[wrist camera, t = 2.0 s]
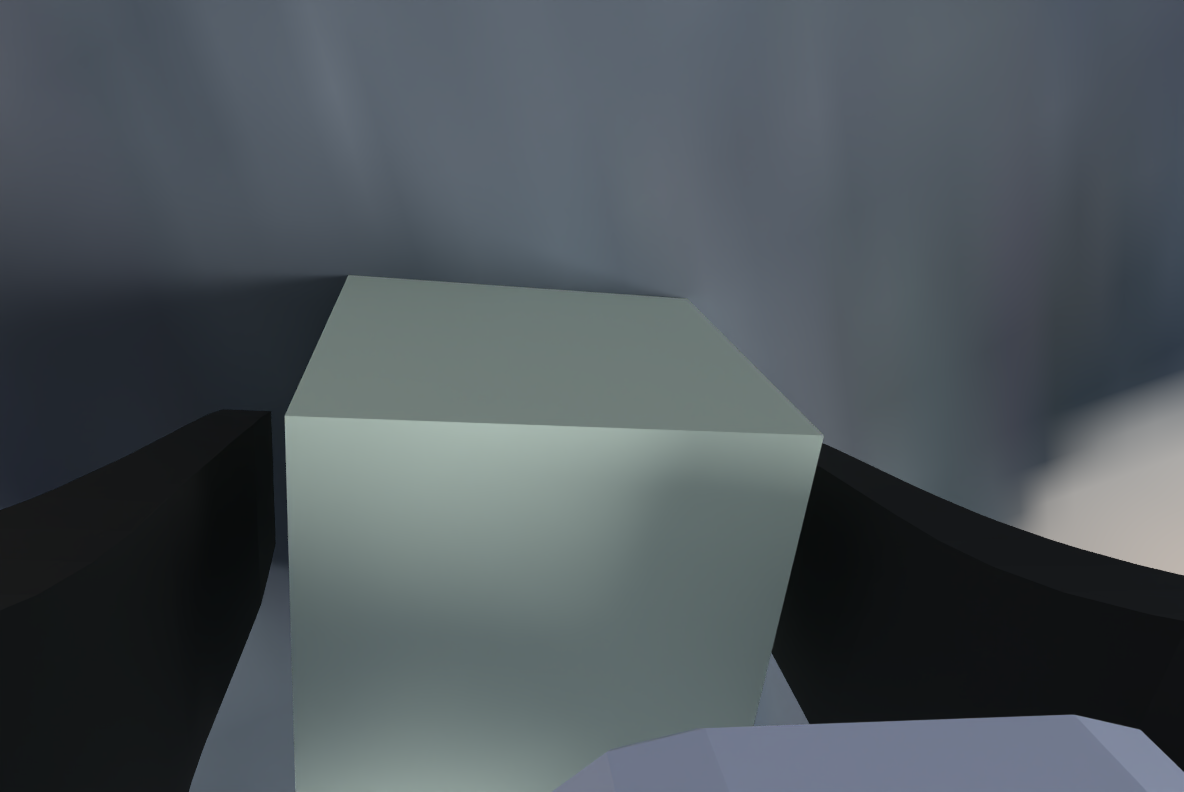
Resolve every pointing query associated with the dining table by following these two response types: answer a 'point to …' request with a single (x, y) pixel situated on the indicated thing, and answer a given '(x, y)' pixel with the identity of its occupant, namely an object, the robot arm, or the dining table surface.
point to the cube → (528, 533)
